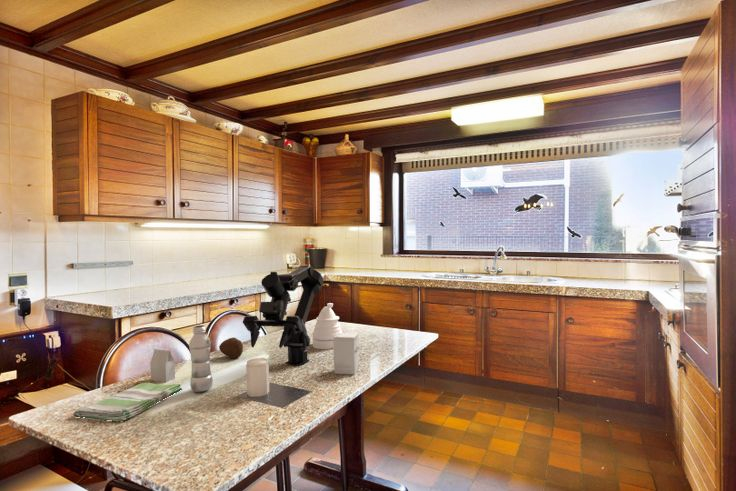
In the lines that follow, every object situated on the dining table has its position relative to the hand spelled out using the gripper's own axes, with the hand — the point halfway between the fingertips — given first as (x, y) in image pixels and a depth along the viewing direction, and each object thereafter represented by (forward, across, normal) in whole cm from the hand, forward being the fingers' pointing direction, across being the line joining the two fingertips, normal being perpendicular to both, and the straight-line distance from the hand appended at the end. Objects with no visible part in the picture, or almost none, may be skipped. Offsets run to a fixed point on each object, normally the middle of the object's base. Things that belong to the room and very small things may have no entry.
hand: (266, 347), depth 128 cm
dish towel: (+20, -35, -2) cm, 41 cm away
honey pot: (-26, +6, +45) cm, 52 cm away
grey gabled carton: (+7, -39, +12) cm, 41 cm away
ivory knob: (+13, 0, +4) cm, 14 cm away
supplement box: (-3, +22, +22) cm, 31 cm away
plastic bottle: (+12, -20, +6) cm, 24 cm away
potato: (-11, -28, +30) cm, 42 cm away
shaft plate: (+14, +5, +4) cm, 15 cm away
